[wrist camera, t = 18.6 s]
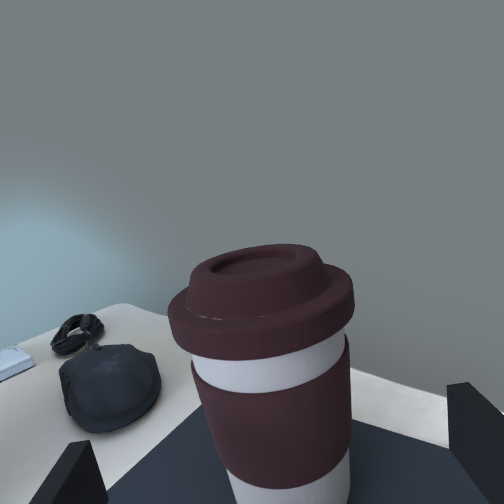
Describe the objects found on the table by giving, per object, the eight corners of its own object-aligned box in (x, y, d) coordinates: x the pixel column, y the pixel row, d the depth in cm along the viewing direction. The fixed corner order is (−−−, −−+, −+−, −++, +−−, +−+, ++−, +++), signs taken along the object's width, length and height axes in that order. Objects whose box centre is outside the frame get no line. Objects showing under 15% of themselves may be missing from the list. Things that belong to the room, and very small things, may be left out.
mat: (98, 507, 22) (96, 500, 22) (228, 385, 33) (227, 380, 33) (511, 871, 9) (511, 858, 9) (503, 473, 20) (503, 465, 20)
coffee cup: (296, 406, 28) (268, 233, 24) (409, 485, 20) (391, 242, 16) (189, 481, 22) (135, 272, 19) (283, 631, 14) (219, 314, 11)
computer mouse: (82, 460, 27) (62, 402, 25) (45, 341, 52) (34, 309, 51) (187, 400, 32) (174, 349, 31) (106, 318, 58) (98, 289, 57)
